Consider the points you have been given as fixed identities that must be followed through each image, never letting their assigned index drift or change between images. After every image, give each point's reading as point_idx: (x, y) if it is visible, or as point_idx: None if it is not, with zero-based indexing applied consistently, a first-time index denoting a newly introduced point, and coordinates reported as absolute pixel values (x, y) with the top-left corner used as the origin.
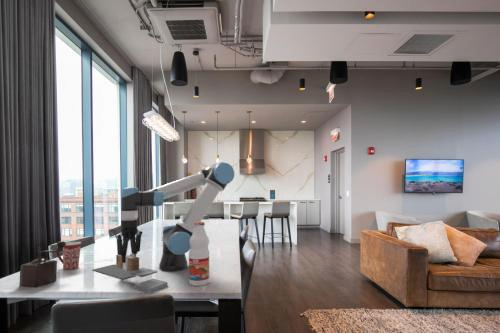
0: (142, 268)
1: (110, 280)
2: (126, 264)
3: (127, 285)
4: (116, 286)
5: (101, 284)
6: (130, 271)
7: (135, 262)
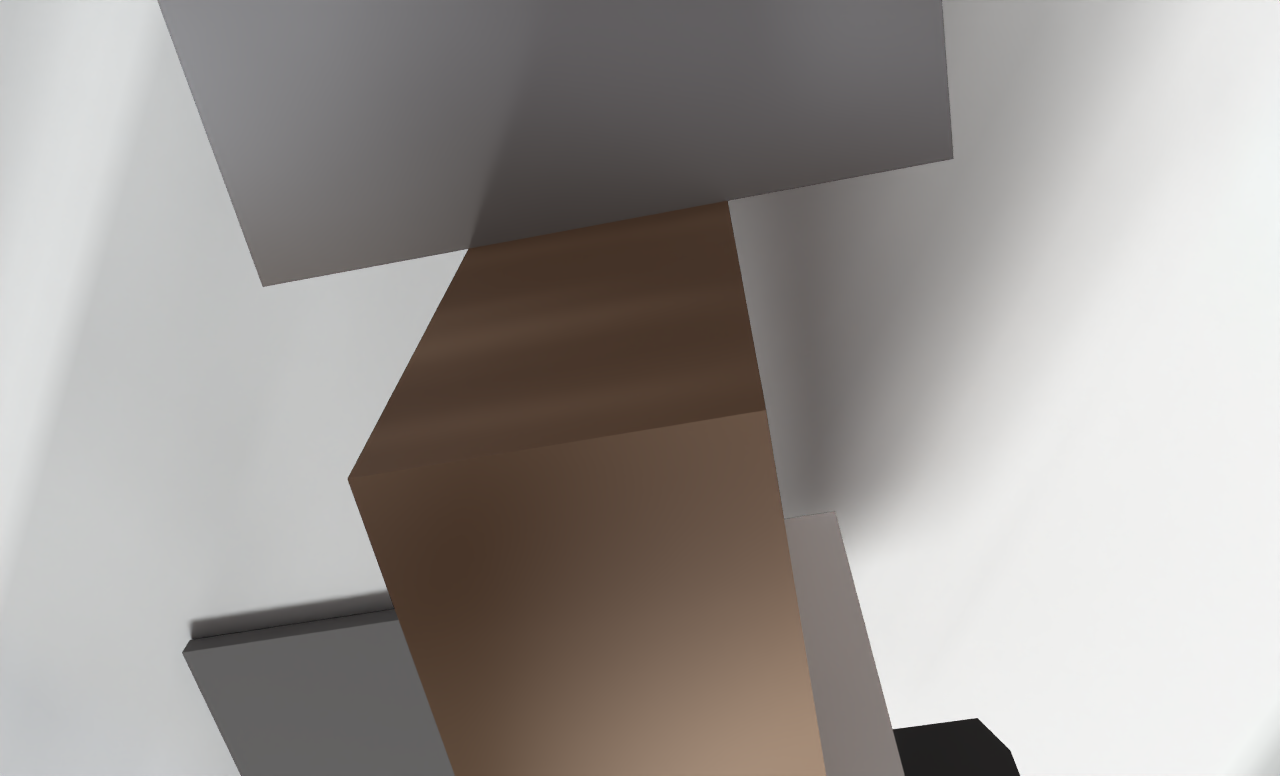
0: (339, 188)
1: (968, 686)
2: (855, 636)
3: None
4: (1117, 195)
5: (1240, 577)
6: (882, 130)
7: (623, 333)
